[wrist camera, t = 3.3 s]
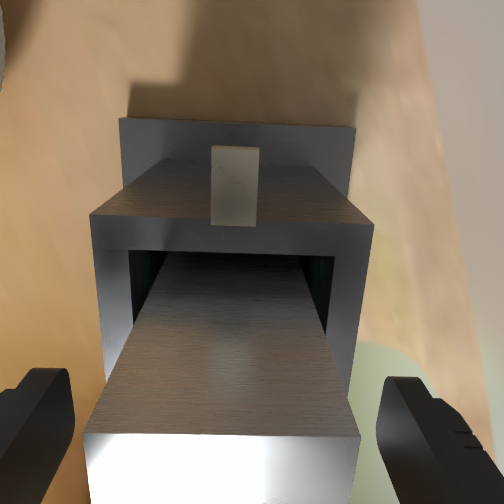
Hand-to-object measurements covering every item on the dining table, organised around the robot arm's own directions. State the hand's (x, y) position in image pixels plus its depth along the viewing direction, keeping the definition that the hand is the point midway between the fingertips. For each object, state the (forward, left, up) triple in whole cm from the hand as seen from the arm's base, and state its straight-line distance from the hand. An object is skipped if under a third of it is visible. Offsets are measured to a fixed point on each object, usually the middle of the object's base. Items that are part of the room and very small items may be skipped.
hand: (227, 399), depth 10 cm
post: (0, 0, -13) cm, 13 cm away
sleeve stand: (0, 0, -15) cm, 15 cm away
